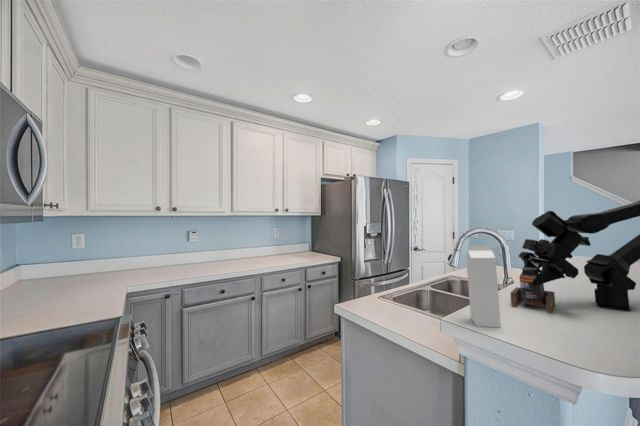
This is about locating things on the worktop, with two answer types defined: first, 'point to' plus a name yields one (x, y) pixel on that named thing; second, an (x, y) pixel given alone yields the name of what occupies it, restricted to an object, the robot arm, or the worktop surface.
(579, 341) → the worktop surface
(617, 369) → the worktop surface
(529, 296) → the supplement bottle
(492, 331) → the worktop surface
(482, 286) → the milk
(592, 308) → the worktop surface
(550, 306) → the u-shaped wooden frame
